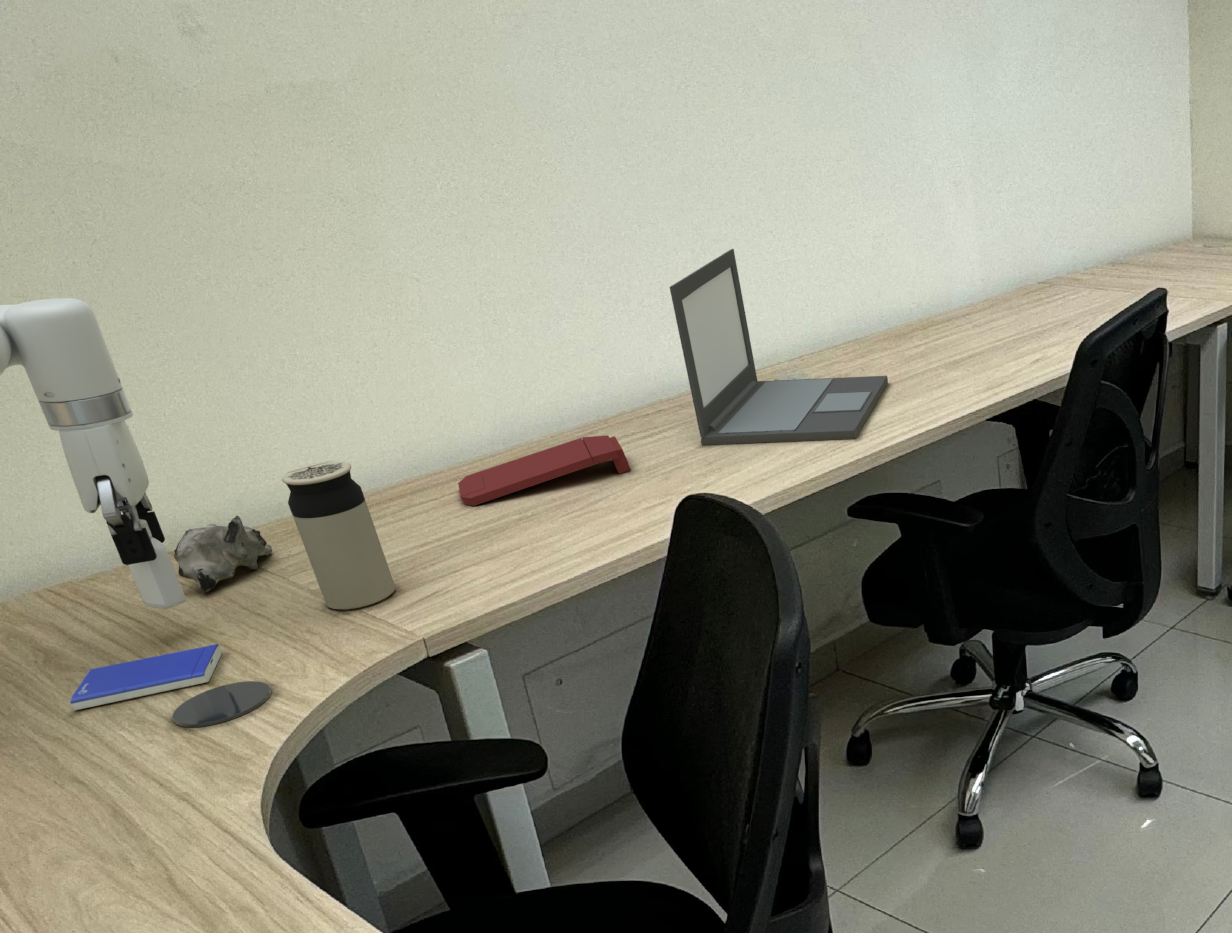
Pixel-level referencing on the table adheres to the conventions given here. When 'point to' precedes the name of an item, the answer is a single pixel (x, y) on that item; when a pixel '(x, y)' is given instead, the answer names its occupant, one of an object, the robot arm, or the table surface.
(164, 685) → the hard drive
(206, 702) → the slate coaster
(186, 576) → the decorative stone
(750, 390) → the laptop
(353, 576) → the travel mug
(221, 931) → the table surface
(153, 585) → the eye dropper bottle
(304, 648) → the table surface
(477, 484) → the red hooked bar
